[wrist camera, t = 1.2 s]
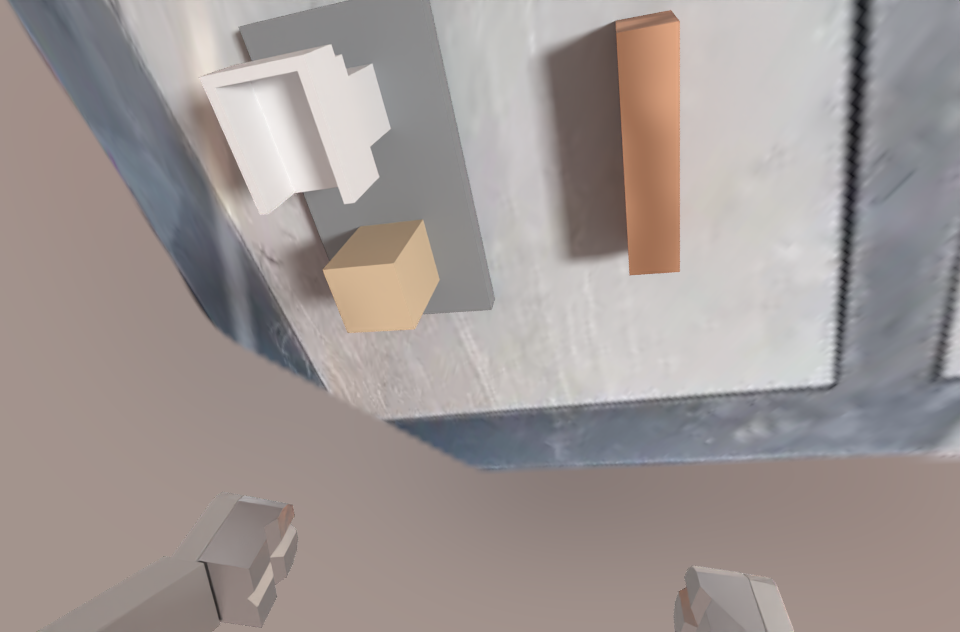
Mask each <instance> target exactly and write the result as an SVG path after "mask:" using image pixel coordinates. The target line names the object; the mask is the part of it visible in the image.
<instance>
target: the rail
mask: <svg viewBox="0 0 960 632" xmlns="http://www.w3.org/2000/svg"><path fill="white" fill-rule="evenodd" d="M616 40H617V58H618V76H619V94H620V112H621V130H622V147H623V165H624V183H625V201H626V219H627V237H628V255H629V273H630V275H641V274H655V273H669V272H680V21H679V20H678V19H677V17H676V16H675V15H674V13H673V12H672V11H671V10H669V11H664V12H659V13H654V14H648V15H643V16H638V17H633V18H627V19H622V20H617V21H616Z"/></svg>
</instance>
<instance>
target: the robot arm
mask: <svg viewBox="0 0 960 632" xmlns="http://www.w3.org/2000/svg"><path fill="white" fill-rule="evenodd" d="M294 516H295V514H294V509H293V505H292V504H287V503H282V502H276V501H270V500H266V499H260V498H255V497H249V496H244V495H238V494H232V493H225V492H221V493H220V494H218V495H217V496H216V497H214V498H213V500H212V501H211V502H210V504H209V505H208V507H207V508H206V509H205V511H204V512H203V513H202V515H201V516H200V518H199V519H198V520H197V522H196V523H195V525H194V526H193V527H192V529H191V530H190V532H189V533H188V534H187V536H186V537H185V538H184V540H183V541H182V543H181V544H180V545H179V547H178V548H177V549H176V551H175V552H174V553H173V555H172V557H166V556H163V557H162V558H160V559H158V560H157V561H155V562H153V563H152V564H150V565H148V566H147V567H145V568H143V569H142V570H140V571H138V572H137V573H135V574H133V575H131V576H130V577H128V578H126V579H125V580H123V581H121V582H120V583H118V584H116V585H115V586H113V587H111V588H109V589H108V590H106V591H105V592H103V593H101V594H99V595H98V596H96V597H94V598H93V599H91V600H89V601H88V602H86V603H84V604H82V605H81V606H79V607H77V608H76V609H74V610H72V611H71V612H69V613H67V614H66V615H64V616H62V617H61V618H59V619H57V620H56V621H54V622H52V623H51V624H49V625H47V626H45V627H44V628H42V629H40V630H39V631H37V632H212V631H214V630H215V629H216V628H217V627H218V626H219V625H220V622H224V623H231V624H238V625H245V626H252V627H259V628H262V626H263V624H264V622H265V620H266V618H267V616H268V614H269V612H270V610H271V608H272V606H273V604H274V602H275V600H276V598H277V594H276V588H275V585H276V584H277V583H279V582H280V581H281V580H283V579H284V578H286V577H287V575H288V573H289V571H290V569H291V567H292V565H293V561H294V558H295V554H296V551H297V542H298V536H297V530H296V529H295V528H294V527H293V526H292V525H291V522H292V520H293V518H294ZM685 582H686V588H684V589H682V590H680V591H679V593H678V595H677V598H676V601H675V609H674V628H675V632H794V629H793V627H792V624H791V622H790V619H789V616H788V614H787V611H786V608H785V606H784V604H783V601H782V598H781V595H780V593H779V590H778V588H777V585H776V583H775V582H774V581H773V580H772V578H769V577H763V576H757V575H750V574H742V573H741V572H734V571H727V570H720V569H713V568H706V567H699V566H691V567H689V568H688V569H687V572H686V574H685Z"/></svg>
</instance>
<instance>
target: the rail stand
mask: <svg viewBox="0 0 960 632" xmlns="http://www.w3.org/2000/svg"><path fill="white" fill-rule="evenodd" d="M239 29H240V32H241V35H242V37H243V40H244V42H245V45H246V47H247V50H248V53H249V55H250V58H251V60H252V61H251V62H246V63H241V64H237V65H233V66H230V67H227V68H224V69H221V70H218V71H215V72H212V73H209V74H207V75H204V76H201V77H199V78H200V81H201V83H202V85H203V87H204V90H205V92H206V94H207V96H208V99H209V101H210V103H211V105H212V108H213V110H214V112H215V114H216V117H217V119H218V121H219V123H220V126H221V128H222V130H223V133H224V135H225V137H226V139H227V142H228V144H229V146H230V148H231V151H232V153H233V155H234V157H235V160H236V162H237V164H238V166H239V169H240V171H241V173H242V175H243V178H244V180H245V182H246V184H247V187H248V189H249V191H250V194H251V196H252V198H253V200H254V203H255V205H256V207H257V209H258V212H259V214H260V215H263V214H270V213H271V212H272V211H273V210H275V209H276V208H277V207H278V206H279V205H281V204H282V203H283V202H284V201H286V200H287V199H288V198H289V197H291V196H292V195H293V194H294V193H299V192H303V194H304V196H305V199H306V202H307V204H308V207H309V209H310V212H311V214H312V217H313V220H314V222H315V225H316V227H317V230H318V232H319V235H320V238H321V240H322V243H323V245H324V248H325V250H326V253H327V256H328V258H329V261H330V262H329V263H328V264H327V265H326V266H325V267H324V269H323V273H324V275H325V277H326V280H327V282H328V285H329V287H330V290H331V292H332V295H333V297H334V300H335V302H336V305H337V307H338V310H339V312H340V315H341V317H342V320H343V322H344V325H345V327H346V330H347V332H348V333H356V332H374V331H392V330H410V329H415V328H416V326H417V324H418V322H419V320H420V318H421V316H422V314H435V313H450V312H466V311H482V310H492V307H493V304H494V301H495V298H494V293H493V288H492V284H491V279H490V275H489V270H488V266H487V261H486V256H485V252H484V247H483V243H482V238H481V234H480V229H479V225H478V220H477V215H476V211H475V206H474V202H473V197H472V193H471V188H470V183H469V179H468V174H467V170H466V165H465V161H464V156H463V152H462V147H461V142H460V138H459V133H458V129H457V124H456V120H455V115H454V111H453V106H452V101H451V97H450V92H449V88H448V83H447V79H446V74H445V69H444V65H443V60H442V56H441V51H440V47H439V42H438V38H437V33H436V28H435V24H434V19H433V15H432V10H431V6H430V1H429V0H348V1H344V2H340V3H336V4H332V5H327V6H323V7H319V8H315V9H311V10H306V11H302V12H298V13H294V14H290V15H286V16H281V17H277V18H273V19H269V20H265V21H260V22H256V23H252V24H248V25H244V26H240V27H239Z"/></svg>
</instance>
